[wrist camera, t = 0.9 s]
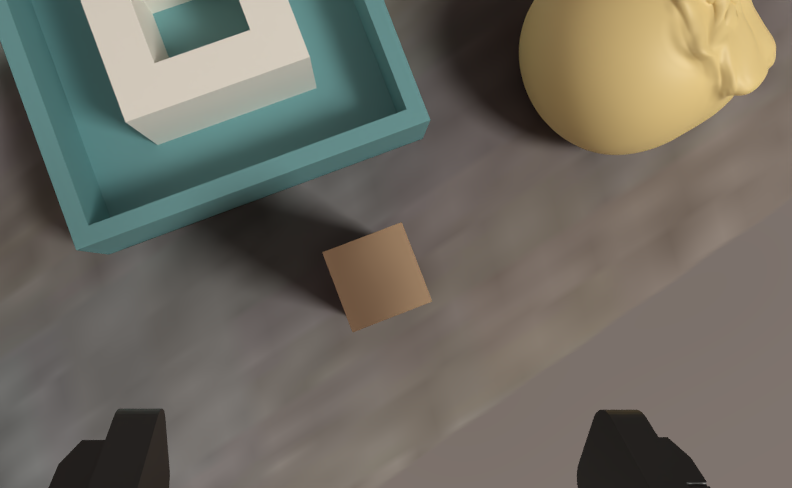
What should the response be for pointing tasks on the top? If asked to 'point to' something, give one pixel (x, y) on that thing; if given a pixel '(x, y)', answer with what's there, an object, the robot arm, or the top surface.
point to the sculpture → (639, 66)
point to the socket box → (201, 103)
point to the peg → (377, 277)
